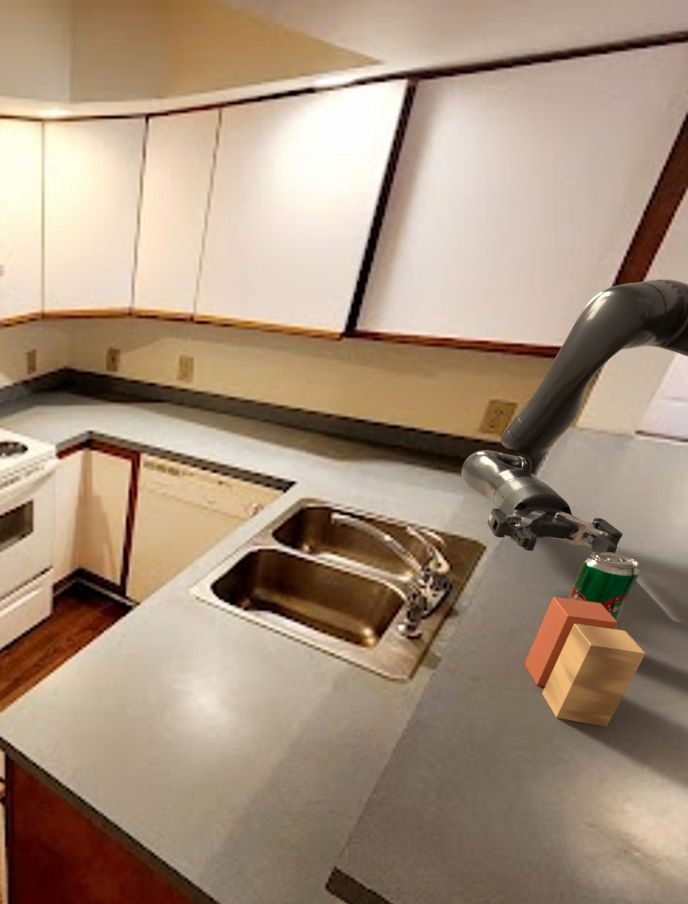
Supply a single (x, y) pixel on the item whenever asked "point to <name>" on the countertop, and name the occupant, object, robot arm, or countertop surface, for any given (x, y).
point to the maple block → (592, 674)
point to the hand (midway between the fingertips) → (570, 549)
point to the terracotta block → (562, 633)
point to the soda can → (606, 581)
